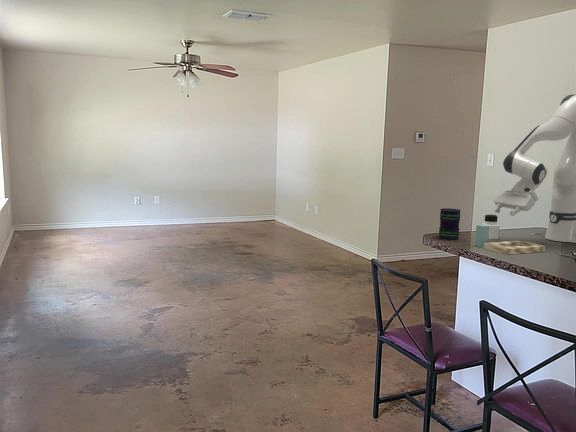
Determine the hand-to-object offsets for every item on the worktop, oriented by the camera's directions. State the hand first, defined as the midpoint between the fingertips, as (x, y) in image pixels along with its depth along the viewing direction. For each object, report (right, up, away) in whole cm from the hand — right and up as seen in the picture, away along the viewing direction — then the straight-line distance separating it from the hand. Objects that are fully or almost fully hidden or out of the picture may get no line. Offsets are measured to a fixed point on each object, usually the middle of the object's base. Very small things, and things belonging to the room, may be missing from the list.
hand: (503, 213), depth 236 cm
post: (-11, -16, -1) cm, 19 cm away
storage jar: (-21, -13, +17) cm, 30 cm away
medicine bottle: (+1, -13, +20) cm, 23 cm away
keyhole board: (+1, -17, -9) cm, 19 cm away
